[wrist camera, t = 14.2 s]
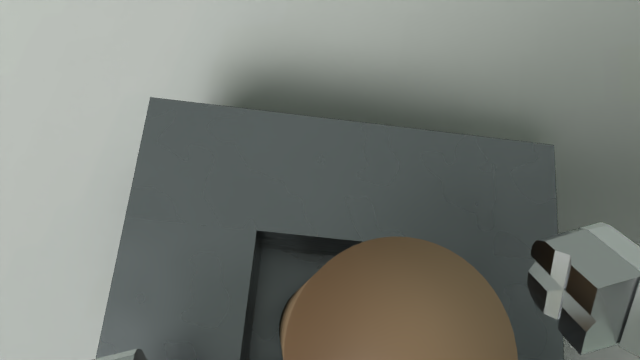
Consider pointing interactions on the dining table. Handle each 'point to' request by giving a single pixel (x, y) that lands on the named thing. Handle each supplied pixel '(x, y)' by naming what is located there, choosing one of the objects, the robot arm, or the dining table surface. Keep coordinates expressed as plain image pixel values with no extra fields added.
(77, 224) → the dining table surface
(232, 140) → the hole block
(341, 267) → the walnut peg
